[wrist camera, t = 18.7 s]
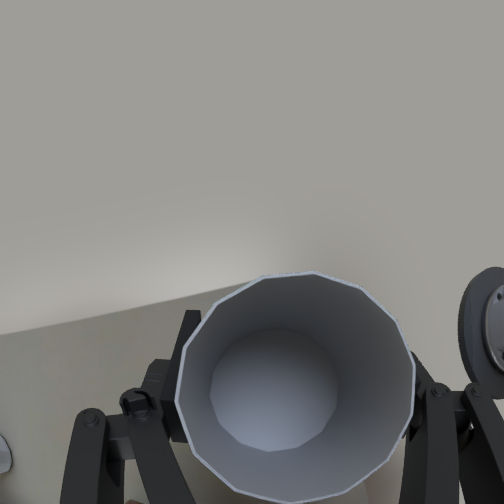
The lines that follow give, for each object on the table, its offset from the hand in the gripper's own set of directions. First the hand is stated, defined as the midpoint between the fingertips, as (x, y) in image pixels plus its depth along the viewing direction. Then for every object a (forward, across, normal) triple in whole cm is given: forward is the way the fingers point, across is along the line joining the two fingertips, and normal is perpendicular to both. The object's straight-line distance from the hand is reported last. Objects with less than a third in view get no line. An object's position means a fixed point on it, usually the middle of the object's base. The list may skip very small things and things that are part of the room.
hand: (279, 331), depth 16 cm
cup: (0, 0, +5) cm, 5 cm away
